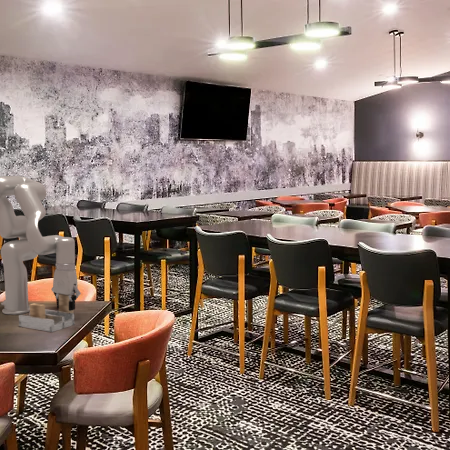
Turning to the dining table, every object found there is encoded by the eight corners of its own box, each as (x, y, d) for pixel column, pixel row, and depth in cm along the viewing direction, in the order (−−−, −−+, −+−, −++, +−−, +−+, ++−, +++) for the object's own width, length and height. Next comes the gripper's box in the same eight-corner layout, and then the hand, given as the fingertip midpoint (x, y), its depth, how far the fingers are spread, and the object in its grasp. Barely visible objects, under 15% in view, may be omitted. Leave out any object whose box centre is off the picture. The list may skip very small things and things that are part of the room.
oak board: (30, 326, 241) (29, 304, 241) (35, 324, 244) (34, 303, 243) (41, 328, 239) (40, 306, 238) (45, 326, 241) (45, 304, 240)
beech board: (58, 315, 254) (58, 294, 253) (62, 313, 256) (62, 293, 255) (69, 317, 251) (69, 296, 250) (73, 315, 253) (73, 295, 252)
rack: (19, 326, 241) (18, 315, 241) (42, 319, 252) (41, 308, 252) (52, 332, 233) (51, 320, 232) (74, 324, 244) (74, 313, 243)
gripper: (43, 266, 252) (44, 307, 254) (74, 270, 243) (75, 313, 246) (56, 263, 258) (57, 304, 260) (87, 267, 250) (87, 309, 252)
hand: (65, 308), depth 253 cm, fingers closed on beech board, 6 cm apart
